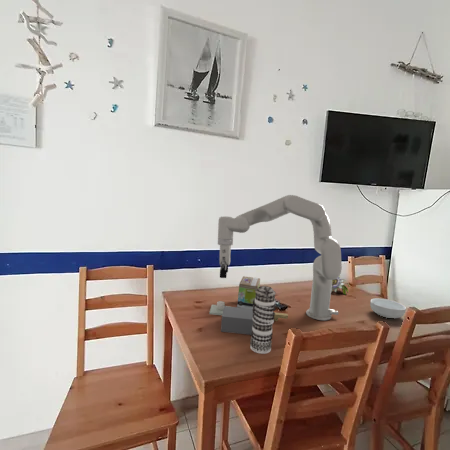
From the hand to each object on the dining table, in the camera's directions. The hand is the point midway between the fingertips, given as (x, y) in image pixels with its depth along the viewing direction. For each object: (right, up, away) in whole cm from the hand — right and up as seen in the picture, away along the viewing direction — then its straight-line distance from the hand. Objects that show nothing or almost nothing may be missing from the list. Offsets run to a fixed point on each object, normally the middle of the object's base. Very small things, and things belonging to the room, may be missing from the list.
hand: (223, 274), depth 151 cm
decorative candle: (+15, -24, -31) cm, 42 cm away
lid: (-2, -19, +2) cm, 20 cm away
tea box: (+13, -19, +10) cm, 25 cm away
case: (+8, -22, -14) cm, 27 cm away
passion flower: (+74, -19, +46) cm, 89 cm away
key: (+25, -22, -4) cm, 34 cm away
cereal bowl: (+88, -24, +11) cm, 92 cm away
